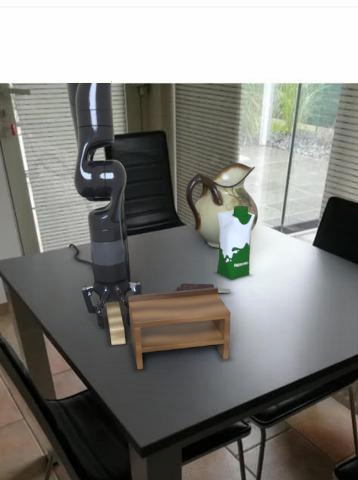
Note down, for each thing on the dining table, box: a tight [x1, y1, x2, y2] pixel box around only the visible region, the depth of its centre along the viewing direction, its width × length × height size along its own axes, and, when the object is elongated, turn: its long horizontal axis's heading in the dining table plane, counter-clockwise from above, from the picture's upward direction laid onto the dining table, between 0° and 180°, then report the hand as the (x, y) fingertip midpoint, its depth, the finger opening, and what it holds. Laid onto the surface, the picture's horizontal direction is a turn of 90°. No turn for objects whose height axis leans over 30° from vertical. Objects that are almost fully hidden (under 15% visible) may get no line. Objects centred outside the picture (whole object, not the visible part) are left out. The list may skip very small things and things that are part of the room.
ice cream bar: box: [176, 283, 232, 294], centre depth 135 cm, size 5×2×15 cm
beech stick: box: [105, 301, 126, 346], centre depth 116 cm, size 15×3×4 cm, turn 11°
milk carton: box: [216, 206, 255, 281], centre depth 141 cm, size 9×9×20 cm
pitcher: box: [185, 162, 259, 249], centre depth 164 cm, size 22×24×25 cm
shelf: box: [127, 286, 231, 370], centre depth 104 cm, size 11×20×12 cm, turn 101°
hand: (115, 325), depth 117 cm, fingers open, 5 cm apart
